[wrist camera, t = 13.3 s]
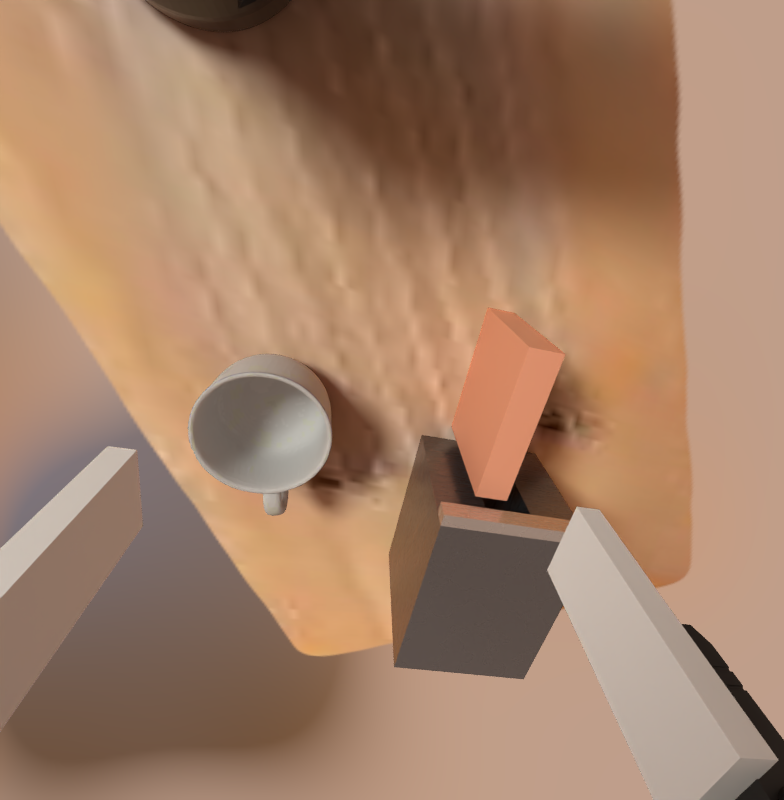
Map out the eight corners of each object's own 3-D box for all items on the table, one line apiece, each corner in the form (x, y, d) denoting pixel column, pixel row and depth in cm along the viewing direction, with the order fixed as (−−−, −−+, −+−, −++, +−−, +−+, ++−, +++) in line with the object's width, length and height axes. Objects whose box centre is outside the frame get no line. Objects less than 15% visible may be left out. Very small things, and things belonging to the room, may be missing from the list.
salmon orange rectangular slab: (487, 307, 37) (529, 347, 27) (514, 313, 38) (565, 354, 28) (451, 426, 42) (475, 496, 32) (475, 430, 43) (506, 501, 33)
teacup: (222, 331, 37) (186, 363, 30) (346, 352, 38) (340, 387, 31) (219, 464, 43) (188, 518, 36) (327, 478, 44) (318, 533, 37)
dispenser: (424, 426, 42) (444, 515, 30) (538, 445, 44) (599, 536, 32) (388, 554, 49) (394, 666, 37) (488, 567, 50) (523, 679, 39)
